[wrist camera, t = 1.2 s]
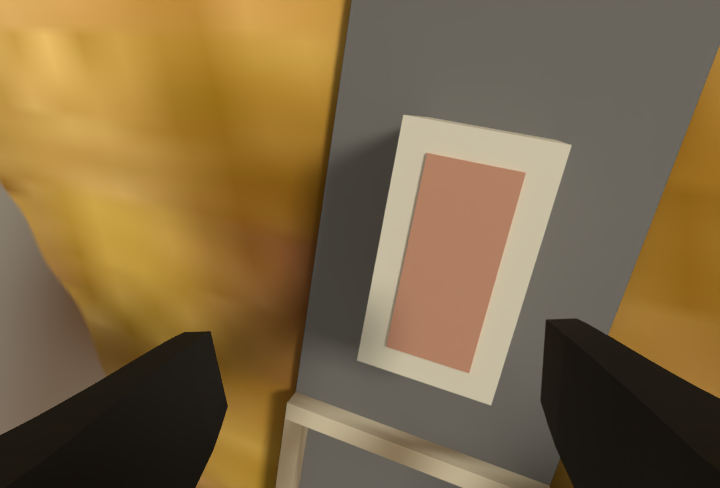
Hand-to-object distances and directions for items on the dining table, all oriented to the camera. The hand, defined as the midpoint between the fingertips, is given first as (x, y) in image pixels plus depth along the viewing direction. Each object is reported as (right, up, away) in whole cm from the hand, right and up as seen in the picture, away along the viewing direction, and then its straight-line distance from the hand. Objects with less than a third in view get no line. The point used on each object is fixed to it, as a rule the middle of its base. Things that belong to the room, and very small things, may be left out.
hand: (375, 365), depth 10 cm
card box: (+4, +3, +9) cm, 10 cm away
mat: (+3, -3, +12) cm, 12 cm away
